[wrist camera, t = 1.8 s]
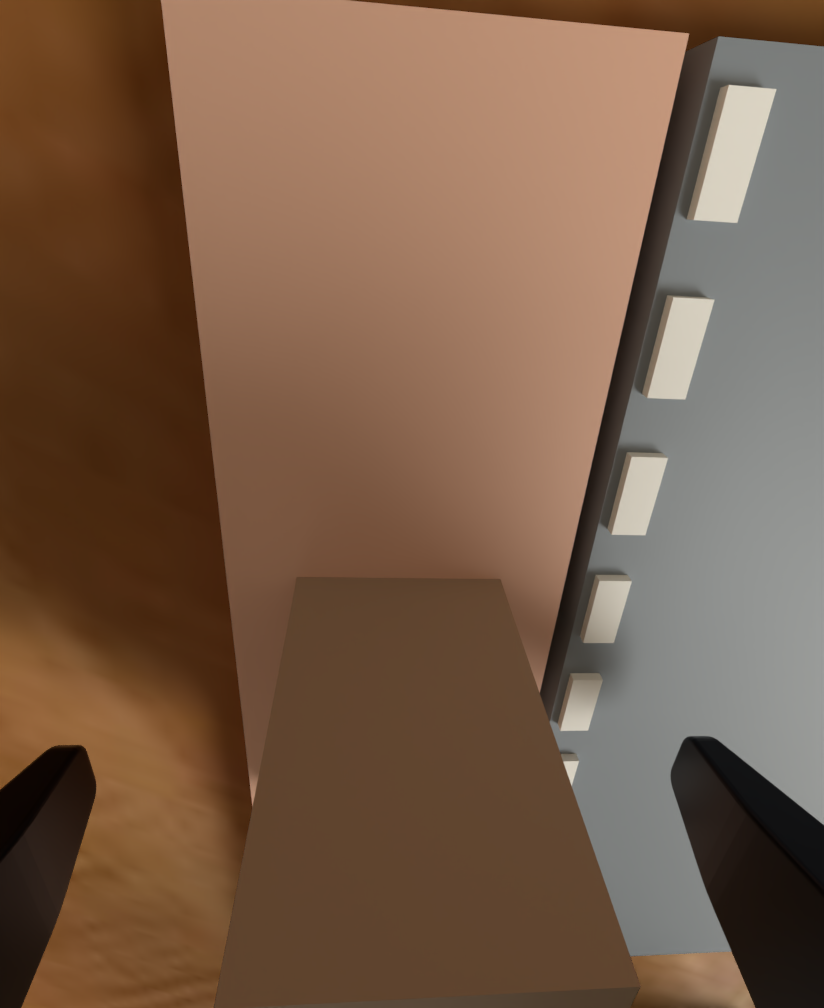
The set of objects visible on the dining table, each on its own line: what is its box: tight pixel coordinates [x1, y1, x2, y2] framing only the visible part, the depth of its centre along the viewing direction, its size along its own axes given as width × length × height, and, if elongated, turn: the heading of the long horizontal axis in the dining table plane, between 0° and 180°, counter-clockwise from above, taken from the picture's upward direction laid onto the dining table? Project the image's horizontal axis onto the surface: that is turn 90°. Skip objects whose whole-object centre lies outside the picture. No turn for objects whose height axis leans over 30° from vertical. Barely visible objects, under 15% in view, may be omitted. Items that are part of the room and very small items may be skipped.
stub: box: [161, 0, 689, 1008], centre depth 8 cm, size 18×5×6 cm, turn 177°
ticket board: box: [540, 36, 824, 956], centre depth 11 cm, size 18×10×1 cm, turn 177°
